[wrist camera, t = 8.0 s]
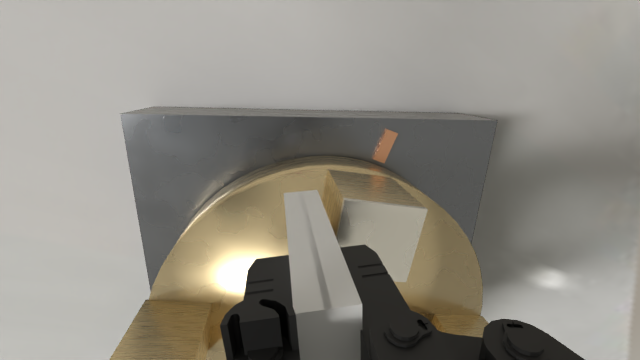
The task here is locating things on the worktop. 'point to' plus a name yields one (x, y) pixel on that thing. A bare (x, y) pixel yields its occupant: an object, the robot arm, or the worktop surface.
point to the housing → (292, 157)
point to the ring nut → (271, 240)
